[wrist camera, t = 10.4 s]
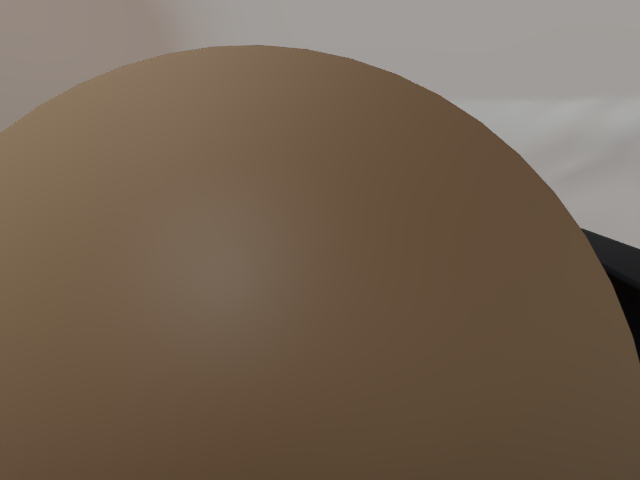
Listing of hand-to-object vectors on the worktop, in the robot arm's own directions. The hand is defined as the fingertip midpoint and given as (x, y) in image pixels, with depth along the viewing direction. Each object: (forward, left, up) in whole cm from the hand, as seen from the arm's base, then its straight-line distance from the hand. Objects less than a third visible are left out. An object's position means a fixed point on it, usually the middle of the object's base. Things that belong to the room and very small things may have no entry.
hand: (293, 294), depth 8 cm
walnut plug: (-1, 0, -8) cm, 8 cm away
